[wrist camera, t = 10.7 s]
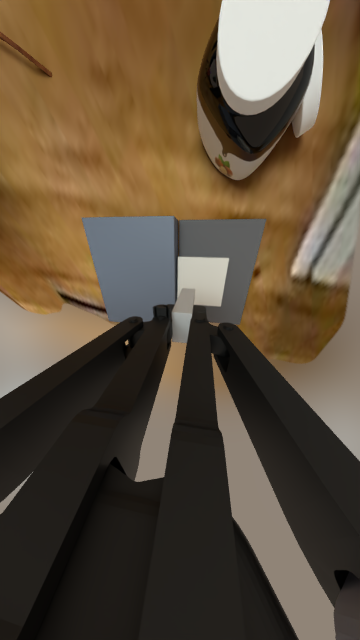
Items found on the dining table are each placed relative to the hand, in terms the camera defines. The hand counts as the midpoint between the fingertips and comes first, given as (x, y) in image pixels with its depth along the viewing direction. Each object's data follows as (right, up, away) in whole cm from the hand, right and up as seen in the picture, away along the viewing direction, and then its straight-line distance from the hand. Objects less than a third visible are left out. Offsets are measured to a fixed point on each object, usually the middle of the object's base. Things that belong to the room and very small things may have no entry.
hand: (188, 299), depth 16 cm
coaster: (+3, +6, +12) cm, 14 cm away
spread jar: (+9, +24, +3) cm, 25 cm away
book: (-9, +7, +14) cm, 18 cm away
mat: (+6, +6, +12) cm, 15 cm away
